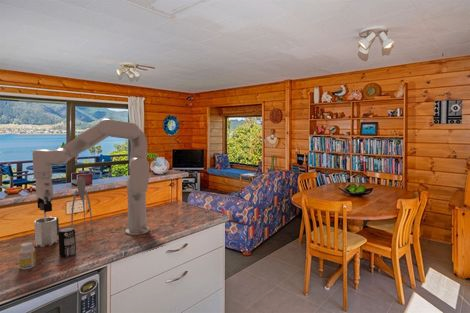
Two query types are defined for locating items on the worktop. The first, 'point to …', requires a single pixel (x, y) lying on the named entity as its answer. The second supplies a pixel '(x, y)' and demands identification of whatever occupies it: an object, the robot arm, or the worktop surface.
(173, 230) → the worktop surface
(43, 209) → the grey knobbed rod
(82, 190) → the juicer
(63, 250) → the beverage can
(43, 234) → the press carafe
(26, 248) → the supplement bottle
